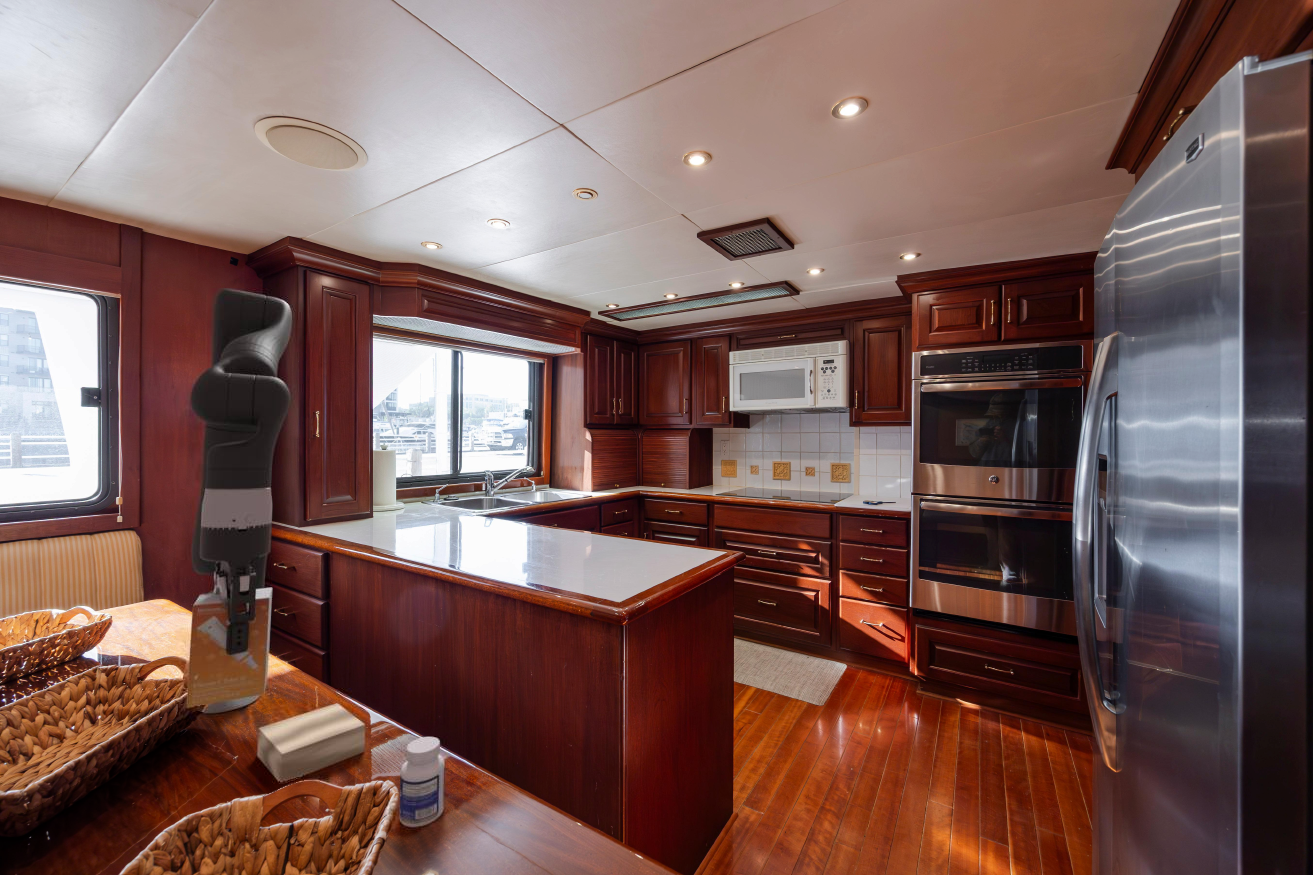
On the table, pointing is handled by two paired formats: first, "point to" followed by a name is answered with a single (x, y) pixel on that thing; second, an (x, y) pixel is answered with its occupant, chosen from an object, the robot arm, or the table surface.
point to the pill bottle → (422, 783)
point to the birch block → (310, 741)
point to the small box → (212, 666)
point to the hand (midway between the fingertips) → (231, 644)
